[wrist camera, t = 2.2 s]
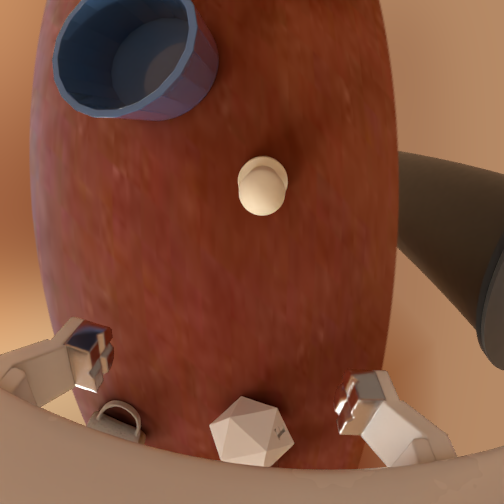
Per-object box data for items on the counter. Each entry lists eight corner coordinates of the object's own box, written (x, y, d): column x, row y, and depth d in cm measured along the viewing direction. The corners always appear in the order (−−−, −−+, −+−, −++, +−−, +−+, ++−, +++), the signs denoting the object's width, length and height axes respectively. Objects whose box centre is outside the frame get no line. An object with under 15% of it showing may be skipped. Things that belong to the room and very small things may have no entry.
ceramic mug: (145, 447, 41) (133, 485, 33) (97, 428, 40) (80, 464, 33) (153, 409, 37) (138, 453, 30) (97, 387, 37) (75, 427, 29)
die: (281, 431, 38) (316, 457, 29) (222, 461, 35) (244, 498, 26) (256, 380, 39) (288, 397, 29) (193, 410, 36) (207, 439, 26)
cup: (227, 16, 21) (210, -30, 13) (209, 124, 25) (182, 120, 17) (120, 18, 21) (70, -14, 13) (103, 119, 25) (43, 119, 16)
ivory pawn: (290, 159, 26) (300, 169, 19) (282, 206, 27) (288, 233, 20) (242, 152, 26) (233, 159, 19) (236, 199, 27) (224, 223, 20)
